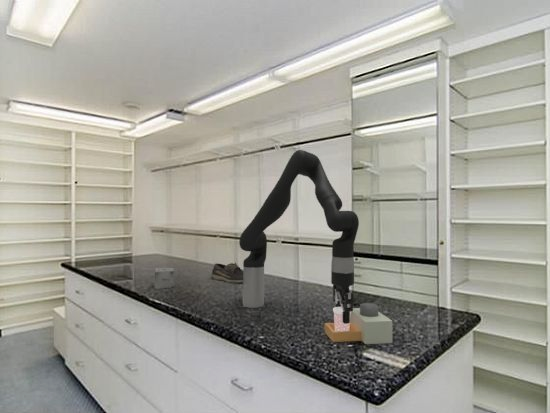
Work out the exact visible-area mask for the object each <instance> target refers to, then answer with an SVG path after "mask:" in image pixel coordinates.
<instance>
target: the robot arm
mask: <svg viewBox="0 0 550 413" xmlns="http://www.w3.org/2000/svg"><path fill="white" fill-rule="evenodd" d="M299 175H301V176H304V177H307V178H308V179H310V180H311V181H312V182H313V184H314V187H315V188H314V194H315V197H316V200H317V202H318V203H319V204H320V207H321V208H322V210H323V213H324V217H325V221H326V225H327V227H328V228H329V229H330V230H331V231H333V232H335V233H337V232H339V233H340V232H342V233H341V235H340V237H339V238H336V239H334V240H333V241H332V244H331V246H332V247H331V248H332V249H331V255H332V258H331V268H330V269H331V271H330V272H331V273H330V274H331V276H330V277H331V278H330V279H331V282H330V283H331V284H332V302H333V303H334V305H335V307H341V305H342V310H343V323H344V324H346V323H350V312H351V311H353V308H354V293H353V292H351V291H350V287H351V286H354V284H355V261H354V260H355V259H354V244H355V241H356V238H357V234H358V230H359V225H360V223H359V222H360V221H359V217H358V215H357V213H356V212H355V211H352V210H341V209H342V207H343V201H342V199H341V198H340V196H339V195H338V192H336V190H335V188H334V187H333V186H332V184H331V183H330V181H329V178H328V175H327V174H326V171H325V169H324V166H323V164H322V162H321V159H320V158H319V157H318V156H317V155H315V154H314V153H311V152H308V151H306V150H303V149H298V150H295V152H294V153H293V154H291V156H290V158H289V159H288V161H287V164H286V165H285V168H284V169H283V171H282V174H281V176H280V177H279V179H278V181H276V182H277V183H276V184H275V185H274V187H273V189H271V192H270V193H269V194H268V196H267V198H266V199H265V200H264V202H263V204H262V205H261V207H260V208H259V210H258V212H257V213H256V214H255V216H254V218H253V219H252V220H251V222H250V223H249V224H248V225H247V227H246V228H244V230H243V231H242V232H241V233H240V234H241V235H240V236H239V242H238V243H239V247H240V249H241V250H243V251H245V252H250V253H249V255H248V256H247V257H246V258H245V259H244V260H243V261H242V262H243V263H242V264H243V265H242V267H243V269H242V271H243V282H242V307H243V308H248V309H249V308H250V309H257V308H261V307H264V306H265V262H266V260H267V251H268V250H267V249H268V248H267V246H268V245H267V244H268V239H267V236H266V233H265V232H264V231H265V230H266V229H267V228H269V227H270V226H271V225H273V224H274V223H276V222H277V221H278V220H279V219H281V217H282V216H283V215H284V213H285V212H286V210H287V209H288V208H289V205H290V204H291V198H292V196H291V195H292V185H293V183H294V182H295V181H296V178H297V177H298V176H299Z"/></svg>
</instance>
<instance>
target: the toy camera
mask: <svg viewBox="0 0 550 413" xmlns="http://www.w3.org/2000/svg"><path fill="white" fill-rule="evenodd" d="M324 333H325V334H326V335H327V337H328V338H329V339H330V340H331V341H332V343H337V342H339V343H341V342H342V343H343V342H358V341H359V342H362V343H364V345H376V344H377V345H381V344H393V320H392V319H390V318H389V317H387V316H386V315H384V314H382V313H381V312H380V311H379V305H378V304H376V303H371V302H362V303H360V304H359V307H353V311H351V313H350V328H349V331H335V325H334V322H324Z"/></svg>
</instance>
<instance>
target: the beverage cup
mask: <svg viewBox="0 0 550 413" xmlns="http://www.w3.org/2000/svg"><path fill="white" fill-rule="evenodd" d="M332 312H333V323H334V325H335V331H349V328H350V323H346V324H344V323H343V310H342V305H341V307H336V306H335V307H333V308H332ZM350 313H351V312H350Z"/></svg>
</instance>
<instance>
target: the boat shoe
mask: <svg viewBox="0 0 550 413" xmlns="http://www.w3.org/2000/svg"><path fill="white" fill-rule="evenodd" d="M211 272H212V273H211V275H210V278H211V280H213V281H224V282H226V283H228V284H240V283H242V284H243V269H241V267H240V266H239V264H238V263H237V262H234V263H233V262H231V263H228V264H227V265H226V264H222V263H214V266H213V269H212V271H211Z"/></svg>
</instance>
